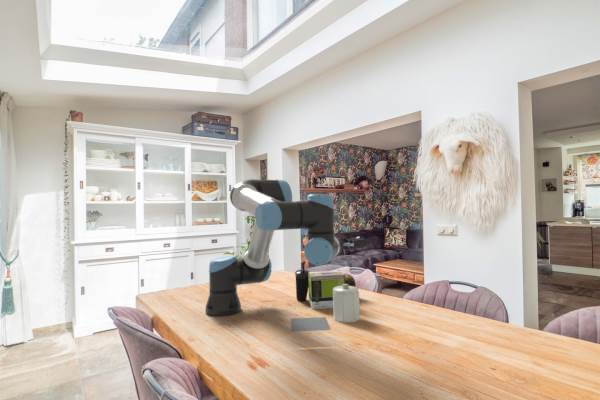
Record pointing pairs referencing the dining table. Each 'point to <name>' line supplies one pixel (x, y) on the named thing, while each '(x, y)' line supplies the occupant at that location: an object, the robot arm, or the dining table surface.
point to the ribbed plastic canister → (346, 303)
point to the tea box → (323, 288)
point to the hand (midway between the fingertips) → (340, 240)
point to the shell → (349, 280)
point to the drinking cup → (302, 283)
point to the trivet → (309, 324)
